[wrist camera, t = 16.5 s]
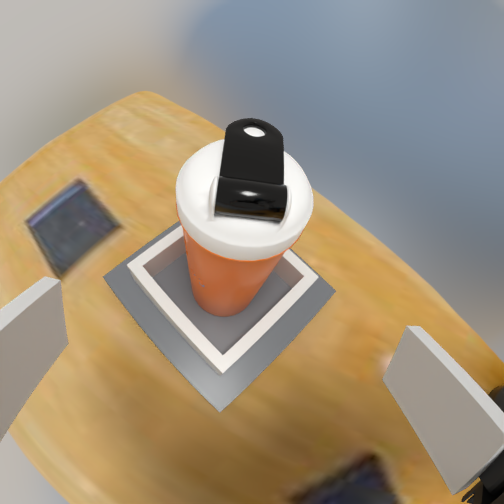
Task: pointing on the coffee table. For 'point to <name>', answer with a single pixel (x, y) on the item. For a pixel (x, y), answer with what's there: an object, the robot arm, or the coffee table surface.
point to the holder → (211, 326)
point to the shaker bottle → (239, 213)
